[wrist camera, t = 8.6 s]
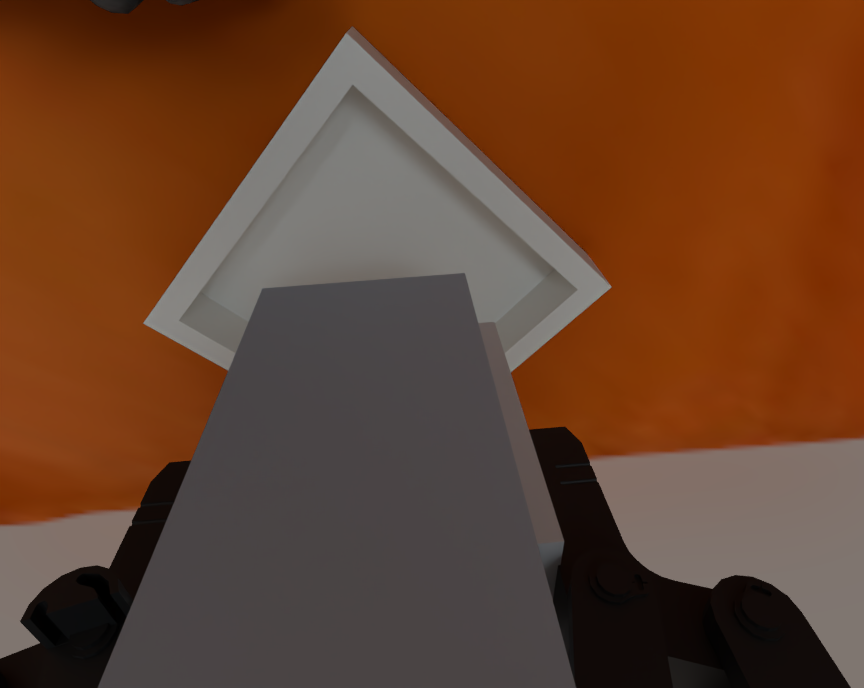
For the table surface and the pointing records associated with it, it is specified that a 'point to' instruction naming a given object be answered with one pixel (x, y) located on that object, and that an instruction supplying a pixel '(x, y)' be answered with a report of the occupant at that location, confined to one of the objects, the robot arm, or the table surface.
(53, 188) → the table surface
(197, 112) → the table surface
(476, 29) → the table surface
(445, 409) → the block
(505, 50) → the table surface
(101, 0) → the fruit
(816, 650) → the robot arm
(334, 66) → the tray
